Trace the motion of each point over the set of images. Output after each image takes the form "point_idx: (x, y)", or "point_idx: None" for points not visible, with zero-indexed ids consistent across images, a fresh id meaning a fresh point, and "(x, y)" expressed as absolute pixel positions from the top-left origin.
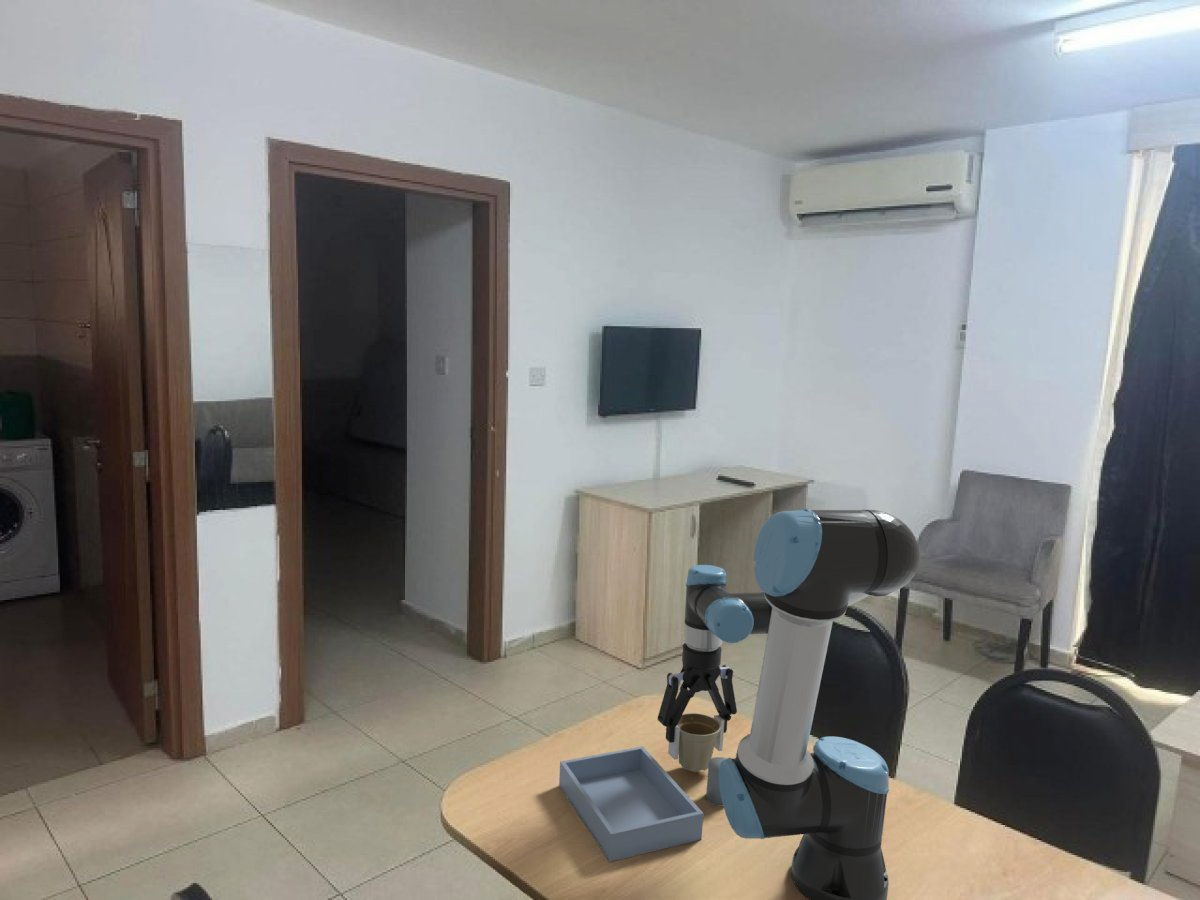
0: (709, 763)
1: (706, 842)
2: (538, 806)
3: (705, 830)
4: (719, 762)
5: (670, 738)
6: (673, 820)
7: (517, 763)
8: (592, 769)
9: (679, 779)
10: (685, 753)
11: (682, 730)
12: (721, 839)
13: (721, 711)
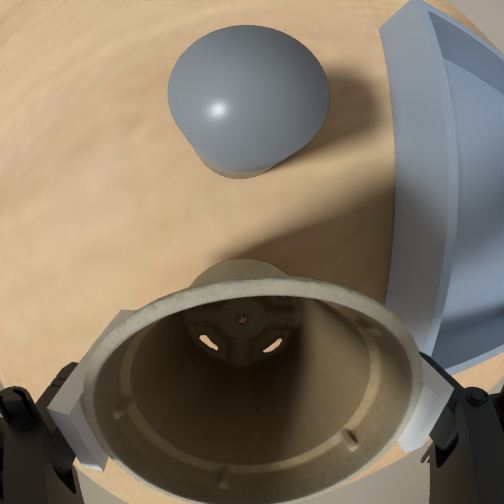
0: (319, 120)
1: (371, 18)
2: None
3: (358, 41)
4: (255, 105)
5: (428, 362)
6: (475, 33)
7: (492, 381)
8: (489, 331)
9: None
10: (327, 315)
11: (277, 440)
12: (334, 6)
13: (43, 470)
